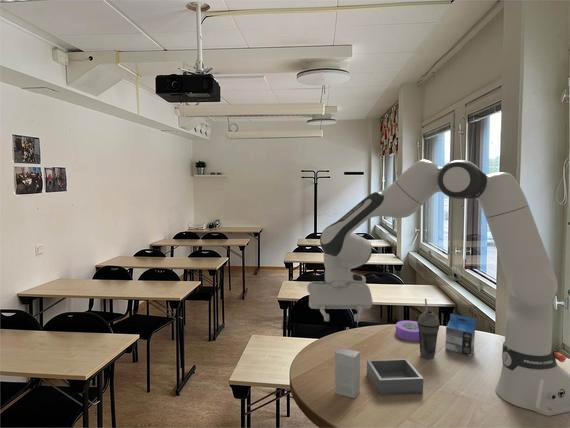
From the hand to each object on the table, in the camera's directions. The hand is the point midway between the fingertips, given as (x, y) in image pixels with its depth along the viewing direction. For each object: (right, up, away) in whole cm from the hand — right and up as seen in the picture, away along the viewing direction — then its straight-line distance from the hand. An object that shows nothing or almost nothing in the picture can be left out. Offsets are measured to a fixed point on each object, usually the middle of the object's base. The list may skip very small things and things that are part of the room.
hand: (341, 320), depth 126 cm
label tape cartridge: (+44, -16, +17) cm, 49 cm away
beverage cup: (+31, -16, +13) cm, 37 cm away
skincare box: (0, -18, -11) cm, 21 cm away
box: (+15, -17, -6) cm, 23 cm away
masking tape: (+32, -14, +32) cm, 47 cm away
